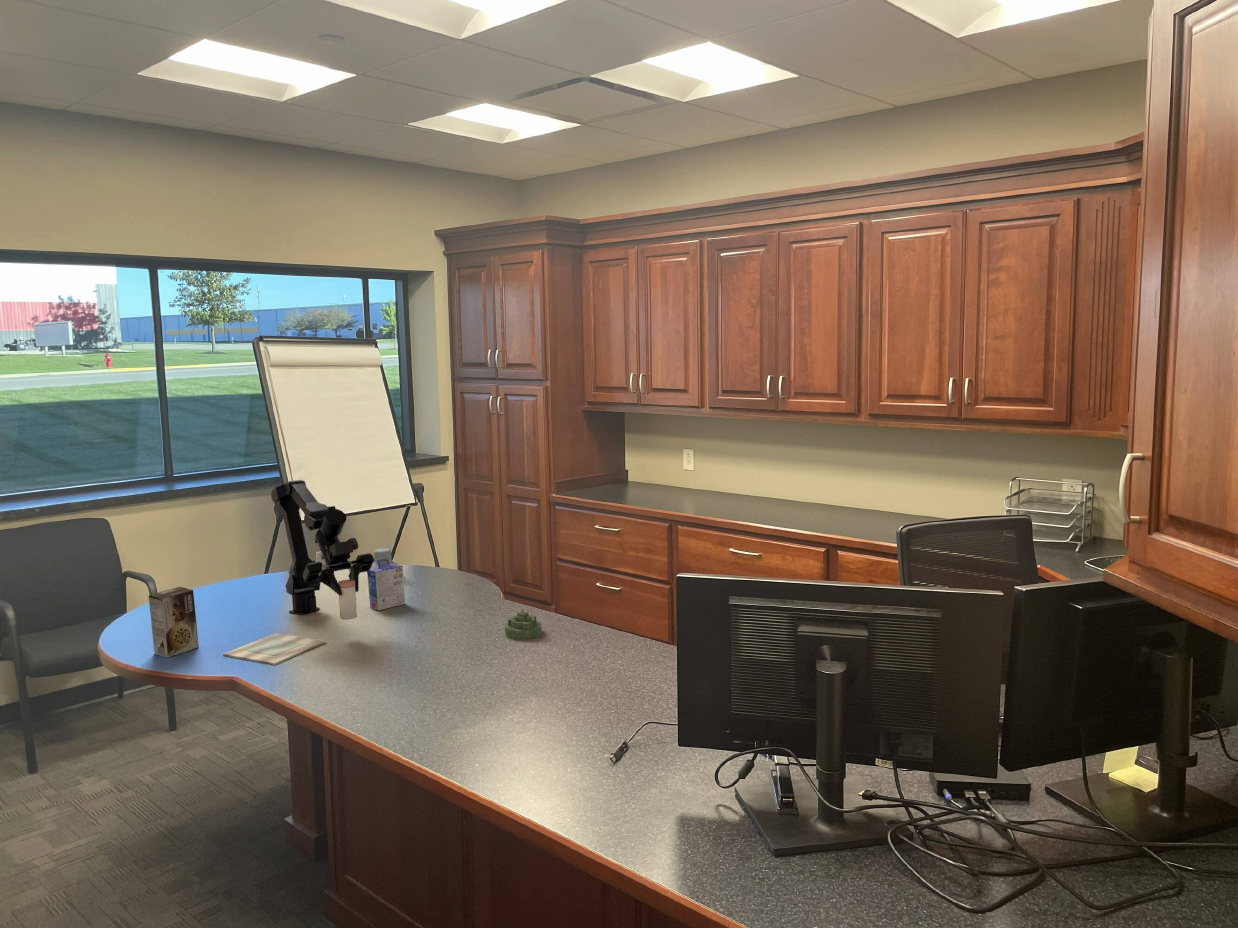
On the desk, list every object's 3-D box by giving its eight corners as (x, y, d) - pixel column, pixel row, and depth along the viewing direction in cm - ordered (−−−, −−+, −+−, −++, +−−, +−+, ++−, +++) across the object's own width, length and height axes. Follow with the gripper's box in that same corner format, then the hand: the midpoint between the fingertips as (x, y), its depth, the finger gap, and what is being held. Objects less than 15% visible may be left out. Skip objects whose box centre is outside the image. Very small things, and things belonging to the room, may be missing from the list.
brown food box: (184, 643, 244) (179, 586, 242) (199, 647, 241) (194, 589, 238) (152, 654, 236) (147, 594, 234) (167, 658, 233) (162, 597, 231)
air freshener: (392, 573, 315) (391, 545, 314) (403, 577, 309) (402, 549, 308) (363, 578, 308) (361, 550, 307) (374, 583, 302) (372, 554, 301)
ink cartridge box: (396, 600, 281) (394, 555, 279) (406, 604, 277) (404, 558, 275) (368, 607, 274) (365, 561, 272) (378, 611, 270) (375, 564, 268)
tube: (336, 618, 245) (334, 582, 243) (347, 613, 249) (345, 578, 247) (349, 620, 243) (347, 584, 241) (360, 615, 247) (358, 580, 245)
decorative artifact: (514, 627, 253) (499, 638, 244) (513, 603, 252) (498, 613, 243) (547, 630, 250) (533, 641, 241) (546, 605, 249) (532, 616, 240)
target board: (223, 655, 234) (223, 653, 234) (276, 634, 250) (276, 632, 250) (274, 664, 226) (274, 662, 226) (325, 642, 242) (325, 640, 242)
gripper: (303, 534, 239) (322, 583, 233) (369, 524, 251) (389, 570, 244) (294, 558, 247) (312, 605, 240) (359, 547, 258) (378, 592, 252)
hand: (349, 592), depth 244 cm, fingers closed on tube, 4 cm apart
